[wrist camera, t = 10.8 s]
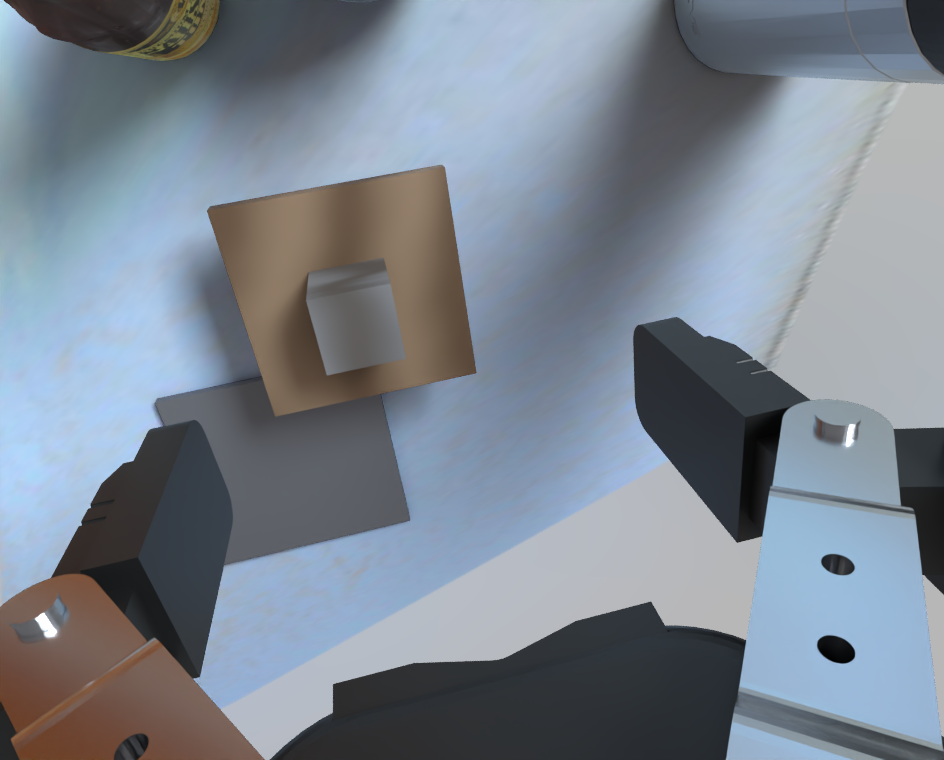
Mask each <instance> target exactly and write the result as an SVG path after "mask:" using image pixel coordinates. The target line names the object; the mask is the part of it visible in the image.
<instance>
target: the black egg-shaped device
mask: <svg viewBox="0 0 944 760" xmlns="http://www.w3.org/2000/svg"><path fill="white" fill-rule="evenodd" d="M339 1H346V2H371V1H376V0H339Z"/></svg>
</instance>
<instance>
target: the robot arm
mask: <svg viewBox="0 0 944 760" xmlns="http://www.w3.org/2000/svg"><path fill="white" fill-rule="evenodd" d="M674 2H675V14H676V19H677V23H678V27H679V30H680V34H681V35H682V37H683V39H684V41H685V43H686V45H687V47H688V49H689V50H690V51H691V52H692V53H693V54H694V56H695V57H696V58H697V59H698V60H699V61H701V62H702V63H704V64H705V65H707V66H708V67H710V68H712V69H715V70H718V71H721V72H727V73H742V74H758V75H769V76H789V77H808V78H827V79H847V80H866V81H885V82H905V83H911V82H912V83H913V82H915V83H933V84H944V0H674ZM633 346H634V381H635V403H636V409H637V413H638V416H639V419H640V422H641V424H642V426H643V428H644V429H645V431H646V432H647V433H648V434H649V436H650V437H651V438H652V439H653V441H654V442H655V443H656V444H657V445H658V447H659V448H660V449H661V450H662V452H663V453H664V454H665V455H666V456H667V458H668V459H669V460H670V461H671V463H672V464H673V465H674V466H675V467H676V469H677V470H678V471H679V472H680V473H681V475H682V476H683V477H684V478H685V480H686V481H687V482H688V483H689V485H690V486H691V487H692V488H693V489H694V491H695V492H696V493H697V494H698V496H699V497H700V498H701V499H702V500H703V502H704V503H705V504H706V505H707V507H708V508H709V509H710V510H711V511H712V513H713V514H714V515H715V516H716V518H717V519H718V520H719V521H720V522H721V524H722V525H723V526H724V527H725V529H726V530H727V531H728V532H729V533H730V534H731V536H732V537H733V538H734V539H735V541H736V542H737V543H738V542H741V541H746V540H750V539H754V538H757V537H761V536H762V543H761V549H760V556H759V562H758V570H757V575H756V582H755V588H754V595H753V602H752V608H751V614H750V621H749V627H748V634H747V640H744V639H741V638H739V637H736V636H733V635H729V634H725V633H722V632H718V631H714V630H709V629H703V628H697V627H687V626H665V625H664V623H663V622H662V620H661V618H660V616H659V615H658V613H657V611H656V609H655V608H654V606H653V605H652V602H648V603H644V604H640V605H637V606H633V607H629V608H625V609H621V610H617V611H613V612H610V613H606V614H602V615H598V616H594V617H590V618H587V619H582V620H579V621H575V622H573V623H572V624H570V625H568V626H566V627H564V628H562V629H560V630H558V631H556V632H554V633H552V634H550V635H549V636H547V637H545V638H543V639H541V640H539V641H537V642H535V643H533V644H531V645H530V646H527V647H526V648H524V649H522V650H520V651H518V652H516V653H514V654H512V655H510V656H508V657H506V658H504V659H500V660H493V661H465V662H435V663H413V664H409V665H406V666H402V667H398V668H394V669H390V670H386V671H383V672H378V673H375V674H371V675H367V676H363V677H359V678H355V679H351V680H348V681H344V682H340V683H336V684H333V713H332V714H330V715H328V716H326V717H324V718H323V719H321V720H319V721H318V722H316V723H315V724H313V725H312V726H310V727H308V728H307V729H305V730H304V731H302V732H301V733H300V734H299V735H297V736H296V737H295V738H294V739H292V740H291V741H290V742H289V743H288V744H286V745H285V746H284V747H283V748H282V749H281V750H280V751H279V752H278V753H276V754H275V755H274V756H273V757H272V758H271V759H270V760H944V737H943V736H941V730H940V721H939V713H938V704H937V696H936V687H935V679H934V671H933V662H932V654H931V645H930V637H929V628H928V620H927V612H926V604H925V594H924V586H923V577H922V575H925V576H926V578H927V579H928V580H929V581H931V583H932V584H934V586H935V587H937V589H939V590H940V591H941V592H942V593H943V594H944V428H917V429H893V427H892V425H891V423H890V422H889V421H888V420H887V419H886V418H885V417H884V416H883V415H881V414H880V413H878V412H876V411H874V410H873V409H870V408H868V407H865V406H863V405H859V404H856V403H852V402H847V401H840V400H829V399H825V400H810V399H808V398H807V397H806V396H804V395H803V394H802V393H800V392H799V391H797V390H796V389H795V388H793V387H792V386H791V385H789V384H788V383H787V382H785V381H784V380H782V379H781V378H780V377H778V376H777V375H776V374H774V373H773V372H772V371H767V368H766V367H765V366H763V365H762V364H761V363H759V362H758V361H757V360H754V361H753V358H752V357H751V356H750V355H748V354H747V353H746V352H744V351H743V350H742V349H740V348H739V347H737V346H736V345H734V344H731V343H729V342H726V341H723V340H720V339H717V338H714V337H711V336H707V337H703V336H702V335H701V334H699V333H698V332H697V331H695V330H694V329H693V328H692V327H690V326H689V325H688V324H686V323H685V322H684V321H682V320H681V319H680V318H677V317H674V318H670V319H665V320H660V321H656V322H651V323H646V324H642V325H638V326H637V327H636V328H635V331H634V337H633ZM81 523H82V526H79V527H78V529H77V531H76V532H75V534H74V536H73V538H72V540H71V542H70V544H69V545H68V547H67V549H66V551H65V553H64V555H63V557H62V558H61V560H60V562H59V564H58V566H57V568H56V570H55V571H54V573H53V575H52V577H51V578H50V579H47V580H44V581H42V582H39V583H37V584H35V585H33V586H31V587H29V588H27V589H25V590H23V591H22V592H20V593H18V594H17V595H15V596H14V597H12V598H11V599H10V600H8V601H7V602H6V603H4V604H3V605H2V606H1V607H0V760H264V758H263V757H262V756H261V755H260V754H259V753H258V752H257V750H256V749H255V748H254V747H253V746H252V745H251V744H250V743H249V742H248V740H247V739H246V738H245V737H244V736H243V735H242V734H241V732H240V731H239V730H238V729H237V728H236V727H235V726H234V725H233V723H232V722H231V721H230V720H229V719H228V718H227V717H226V716H225V714H224V713H223V712H222V711H221V710H220V709H219V708H218V707H217V705H216V704H215V703H214V702H213V701H212V700H211V699H210V698H209V697H208V695H207V694H206V693H205V692H204V691H203V690H202V689H201V688H200V686H199V685H198V684H197V683H196V682H195V681H194V680H193V679H194V678H198V677H200V674H201V669H202V664H203V660H204V655H205V651H206V646H207V641H208V637H209V632H210V627H211V623H212V618H213V613H214V609H215V604H216V599H217V595H218V590H219V586H220V581H221V576H222V572H223V567H224V562H225V558H226V553H227V548H228V544H229V539H230V534H231V530H232V525H233V510H232V503H231V498H230V495H229V491H228V489H227V486H226V484H225V481H224V479H223V476H222V474H221V471H220V469H219V466H218V464H217V461H216V459H215V456H214V454H213V451H212V449H211V446H210V444H209V441H208V439H207V437H206V434H205V432H204V430H203V428H202V426H201V425H200V423H199V422H198V421H196V420H191V421H186V422H181V423H177V424H172V425H167V426H163V427H158V428H153V429H150V430H149V431H148V433H147V435H146V437H145V439H144V441H143V443H142V445H141V447H140V449H139V451H138V453H137V455H136V457H135V459H134V461H132V462H127V463H124V464H122V465H121V466H120V467H119V468H118V469H117V470H116V471H115V472H114V473H113V474H112V475H111V476H110V477H109V478H107V479H106V480H105V481H104V482H103V483H102V484H101V486H100V488H99V490H98V492H97V493H96V495H95V497H94V499H93V501H92V503H91V508H90V509H88V510H87V512H86V514H85V516H84V518H83V519H82V521H81Z"/></svg>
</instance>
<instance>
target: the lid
mask: <svg viewBox="0 0 944 760" xmlns="http://www.w3.org/2000/svg"><path fill="white" fill-rule="evenodd" d="M207 212H208V215H209V218H210V221H211V224H212V227H213V230H214V233H215V236H216V239H217V242H218V245H219V248H220V251H221V254H222V258H223V261H224V264H225V267H226V270H227V273H228V276H229V279H230V282H231V285H232V288H233V291H234V294H235V297H236V300H237V303H238V306H239V309H240V312H241V315H242V318H243V321H244V324H245V327H246V330H247V333H248V336H249V339H250V342H251V345H252V348H253V351H254V354H255V357H256V360H257V363H258V366H259V369H260V372H261V375H262V378H263V381H264V384H265V387H266V390H267V393H268V396H269V399H270V402H271V405H272V408H273V411H274V414H275V417H276V416H281V415H285V414H290V413H295V412H299V411H304V410H308V409H313V408H318V407H322V406H327V405H332V404H336V403H341V402H345V401H350V400H355V399H359V398H364V397H369V396H373V395H378V394H382V393H387V392H392V391H396V390H401V389H406V388H410V387H415V386H419V385H424V384H429V383H433V382H438V381H443V380H447V379H452V378H456V377H461V376H466V375H470V374H475V373H476V367H475V361H474V354H473V348H472V341H471V335H470V328H469V322H468V315H467V309H466V302H465V296H464V289H463V283H462V276H461V270H460V263H459V257H458V250H457V244H456V237H455V231H454V224H453V218H452V211H451V205H450V198H449V192H448V185H447V179H446V172H445V167H444V166H443V165H437V166H432V167H426V168H421V169H415V170H410V171H404V172H399V173H393V174H387V175H382V176H376V177H371V178H365V179H360V180H354V181H349V182H343V183H338V184H332V185H326V186H321V187H315V188H310V189H304V190H299V191H293V192H288V193H282V194H277V195H271V196H265V197H260V198H254V199H249V200H243V201H238V202H232V203H227V204H221V205H215V206H210V207H209V209H208V210H207Z"/></svg>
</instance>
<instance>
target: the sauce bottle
mask: <svg viewBox="0 0 944 760" xmlns="http://www.w3.org/2000/svg"><path fill="white" fill-rule="evenodd" d="M4 1H5V2H6V3H8V4H9V5H10V6H11V7H12V8H14V9H15V10H16V11H17V12H18V13H19V15H21V16H22V17H23V18H24V19H25V20H26V21H28V22H29V23H31V24H33V25H34V26H36V28H37V29H38V31H39V32H41V33H42V34H44V35H46V36H48V37H51V38H53V39H57V40H61V41H66V42H71V43H73V44H76V45H78V46H81V47H83V48H86V49H90V50H93V51H98V52H104V53H110V54H116V55H123V56H131V57H137V58H143V59H149V60H158V61H169V60H176V59H180V58H184V57H186V56H188V55H190V54H192V53H193V52H195V51H196V50H198V49H199V48H200V47H201V46H202V45H203V44H204V43H205V42H206V41H207V39H208V38H209V36H210V35H211V34H212V33H213V29H214V27H215V25H216V23H217V20H218V12H219V5H220V0H4Z"/></svg>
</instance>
